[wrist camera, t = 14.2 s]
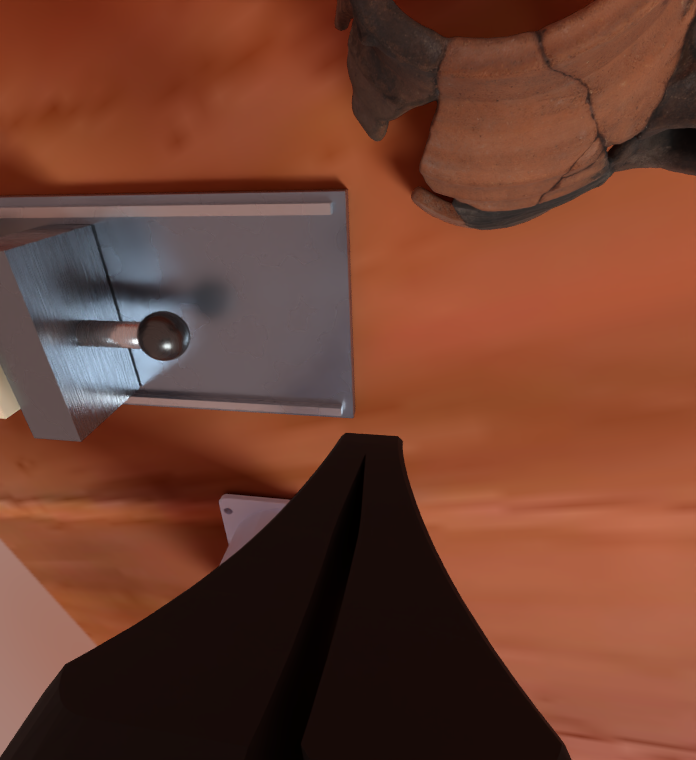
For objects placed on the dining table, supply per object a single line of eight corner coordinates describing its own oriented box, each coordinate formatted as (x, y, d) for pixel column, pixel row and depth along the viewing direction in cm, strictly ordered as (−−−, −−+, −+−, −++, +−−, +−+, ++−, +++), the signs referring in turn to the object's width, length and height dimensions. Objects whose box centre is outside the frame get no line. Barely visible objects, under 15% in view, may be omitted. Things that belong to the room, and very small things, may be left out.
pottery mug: (346, 216, 18) (244, 84, 10) (431, -22, 17) (392, -365, 9) (672, 310, 15) (891, 224, 7) (794, 24, 14) (1195, -435, 6)
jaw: (225, 392, 22) (182, 449, 18) (94, 385, 23) (28, 437, 19) (192, 224, 18) (129, 251, 14) (37, 225, 19) (-61, 250, 15)
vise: (355, 411, 22) (336, 481, 18) (-10, 389, 25) (-101, 444, 21) (348, 189, 17) (319, 211, 13) (-104, 197, 20) (-248, 218, 16)
